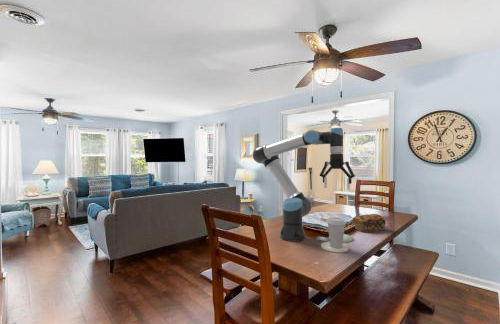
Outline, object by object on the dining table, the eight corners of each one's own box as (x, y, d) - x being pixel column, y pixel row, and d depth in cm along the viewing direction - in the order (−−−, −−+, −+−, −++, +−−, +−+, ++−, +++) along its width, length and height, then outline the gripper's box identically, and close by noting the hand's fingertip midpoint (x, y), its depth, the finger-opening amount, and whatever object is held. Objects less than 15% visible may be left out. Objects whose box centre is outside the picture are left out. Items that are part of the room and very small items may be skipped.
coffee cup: (349, 247, 133) (349, 219, 133) (338, 251, 128) (338, 222, 127) (333, 242, 141) (334, 215, 141) (323, 245, 136) (323, 218, 135)
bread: (374, 226, 176) (375, 212, 176) (386, 230, 166) (386, 216, 166) (351, 228, 172) (351, 214, 172) (361, 232, 162) (362, 217, 161)
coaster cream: (318, 249, 132) (318, 247, 132) (324, 241, 144) (324, 240, 144) (346, 254, 125) (346, 253, 125) (350, 246, 137) (350, 244, 137)
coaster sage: (326, 239, 148) (326, 238, 148) (331, 233, 160) (331, 232, 160) (351, 243, 141) (351, 242, 141) (354, 236, 153) (354, 235, 153)
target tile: (315, 240, 147) (315, 239, 147) (318, 237, 153) (318, 235, 153) (327, 242, 143) (327, 241, 143) (329, 238, 149) (329, 237, 149)
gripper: (314, 153, 154) (314, 188, 154) (357, 153, 140) (357, 190, 140) (318, 153, 160) (318, 186, 161) (360, 153, 146) (360, 189, 146)
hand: (336, 188), depth 150 cm, fingers open, 13 cm apart
